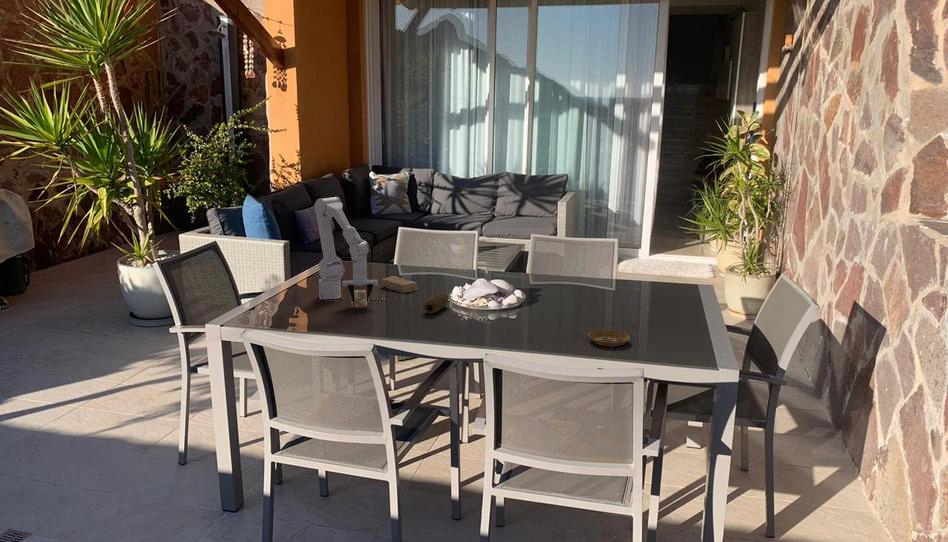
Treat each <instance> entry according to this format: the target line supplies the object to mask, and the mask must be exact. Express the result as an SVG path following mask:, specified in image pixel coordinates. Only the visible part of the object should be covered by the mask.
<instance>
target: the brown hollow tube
mask: <svg viewBox="0 0 948 542" xmlns="http://www.w3.org/2000/svg"><path fill="white" fill-rule="evenodd" d="M448 302H449V296H448V294H447V293H446V292H443V291H439V292H436V293H435V294H434V295H433V296H431V297H430V298H428V299H427V301H426V302H424V304H423V311H424V312H425V313H427V314H436V313H438V312H439V311H441V310H442V309H444V308H445V306H447V304H448Z"/></svg>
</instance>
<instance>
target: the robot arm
mask: <svg viewBox="0 0 948 542" xmlns="http://www.w3.org/2000/svg"><path fill="white" fill-rule="evenodd" d="M341 201H342V200H341V199H340V197H338V196H334V197H325V198H324V197H323V198H318V199H316V201H315V203H314V210H315V217H316V220H317V226H318V233H319V238H320V239H319V240H320V244H321V250H322V256H323V257H322V259H321V260H320V261H319V262H318V265H319V266H318V267H319V268H318V269H319V270H318V274H319V277H320V278H319V279H318V298H319V299H338V298H340V297H341V295H342V292H341V291H342V287H347V289H348V292H349V294H350V295H351V299H352V303H355V293H354V290H355V286H357V287H358V286H366V290H367V303H368V302H370V301H369V297H370V295H371V293H372V291H373V288H374V286H379V280H378V279H368V264H367V263H368V262H367V261H368V259H367V257H368V256H367V255H368V254H369V253H370V245H369V243H368V242H367V241H366V240H364V239H362V238H361V236H360V234H359V233H358V231H357V229H356V228H355V227H354V226H351V224H350V223H349V221H348V218H347V216H346V215H345V213H344V211H343V206H344V205H343V204H344V203H342V202H341ZM332 217H333V218H334V219H335V220H336V222H337V224H338V225H339V226H340V228H341V229H342V230H343V231H342V236H343V238H344V239H345V241H346V243H347V244H348V246H349V250H348V251H349V253H350V256H351V257H350V258H351V260H352V279H351V280H341V279H343V277H342V276H343V275H344V274H345V266H344V265H343V263H342V259H341V258H340V257H339V256H338V255H337V253H336V248H335V242H334V235H333V230H332V223H331V220H332ZM341 281H342V283H341ZM341 284H342V285H341ZM341 286H342V287H341ZM322 296H323V297H322Z"/></svg>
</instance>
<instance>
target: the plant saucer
mask: <svg viewBox="0 0 948 542" xmlns="http://www.w3.org/2000/svg"><path fill="white" fill-rule="evenodd" d="M588 337H589V339H591V341H592V342H593V343H595V344H596V345H598V344H599V346H601V345H602V346H603V347H607V346H609V347H610V348H611V347H612V348H614V347H615V346H617V347H621V345H622V346H624V345H625V344H626V343H628V341H629V340H630V339H631V337H630V334H628V333H625V332H624V331H619V330H614V329H596V330H592V331H590V332H589V333H588ZM605 337H607V338H608V339H609V340H610V339H612V338H613V339H612V340H611V341H614V342H604V341H599V340H602V339H603V338H605ZM616 338H617V339H621V340H623V342H615V341H617V340H616ZM609 347H608V348H609ZM615 348H616V347H615Z"/></svg>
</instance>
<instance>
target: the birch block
mask: <svg viewBox="0 0 948 542" xmlns="http://www.w3.org/2000/svg"><path fill="white" fill-rule="evenodd" d="M354 297H355V307H361V306H367V289H356V290H355V289H354Z"/></svg>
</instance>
